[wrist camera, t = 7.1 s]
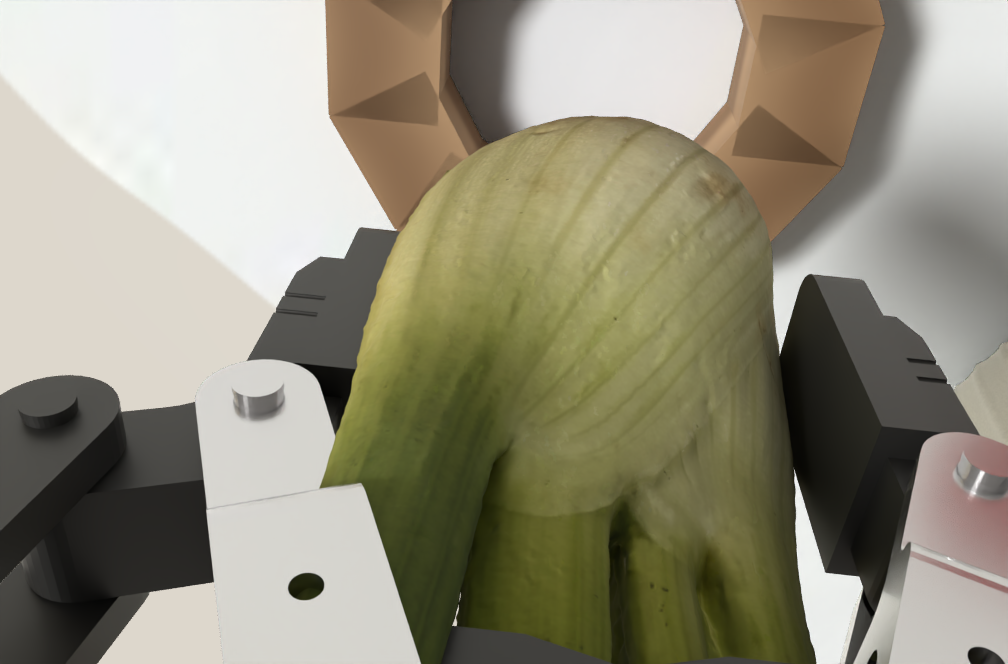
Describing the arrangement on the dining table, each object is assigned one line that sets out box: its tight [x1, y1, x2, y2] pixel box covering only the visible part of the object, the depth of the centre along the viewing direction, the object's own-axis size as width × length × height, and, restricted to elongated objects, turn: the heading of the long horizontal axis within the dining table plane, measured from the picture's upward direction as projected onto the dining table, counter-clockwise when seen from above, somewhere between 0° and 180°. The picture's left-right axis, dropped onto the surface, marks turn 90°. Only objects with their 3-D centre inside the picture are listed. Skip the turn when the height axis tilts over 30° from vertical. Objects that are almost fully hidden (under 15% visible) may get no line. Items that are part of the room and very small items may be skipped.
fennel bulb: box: [295, 116, 816, 664], centre depth 11 cm, size 6×5×12 cm
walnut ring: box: [325, 0, 885, 242], centre depth 24 cm, size 14×14×2 cm
